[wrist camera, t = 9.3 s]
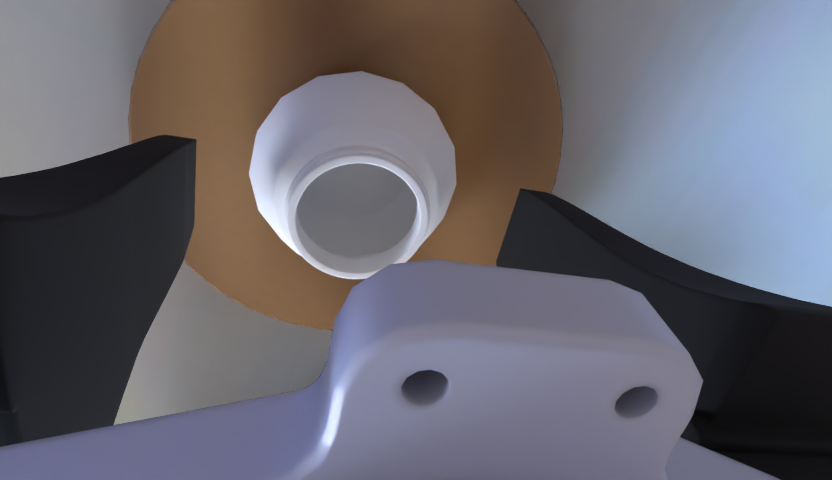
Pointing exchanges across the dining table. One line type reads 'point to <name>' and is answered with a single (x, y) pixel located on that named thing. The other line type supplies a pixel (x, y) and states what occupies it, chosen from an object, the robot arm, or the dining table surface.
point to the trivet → (334, 54)
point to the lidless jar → (353, 172)
